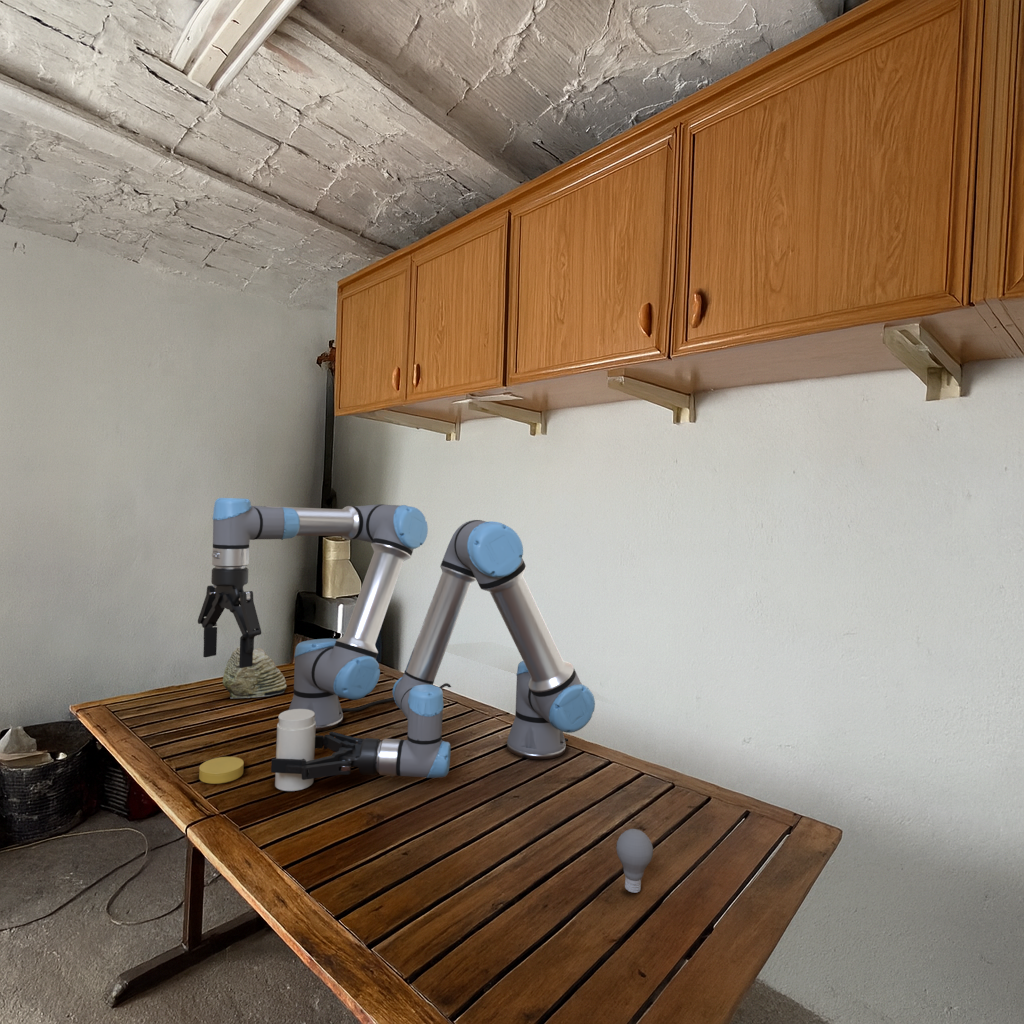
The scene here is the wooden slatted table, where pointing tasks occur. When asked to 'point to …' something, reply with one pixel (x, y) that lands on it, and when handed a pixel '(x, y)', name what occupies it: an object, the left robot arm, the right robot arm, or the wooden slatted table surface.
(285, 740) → the jar
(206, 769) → the lid
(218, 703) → the wooden slatted table surface
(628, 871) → the light bulb
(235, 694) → the fossil
